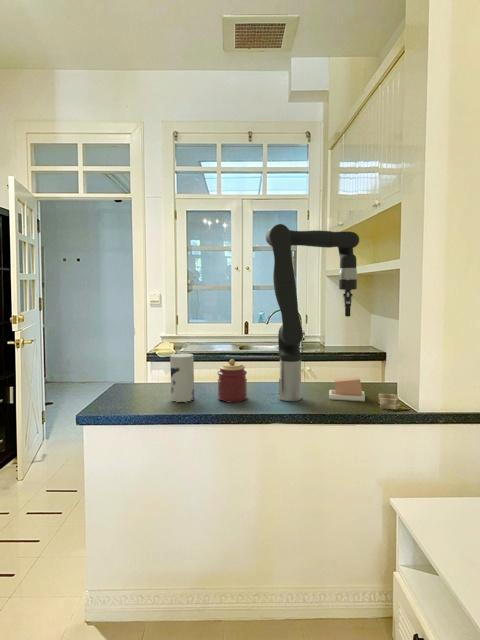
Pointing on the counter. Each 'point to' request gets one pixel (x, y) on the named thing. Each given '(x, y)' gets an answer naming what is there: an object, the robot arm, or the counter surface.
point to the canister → (232, 382)
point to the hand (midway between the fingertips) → (347, 315)
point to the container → (182, 377)
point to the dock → (388, 401)
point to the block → (348, 386)
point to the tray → (345, 396)
